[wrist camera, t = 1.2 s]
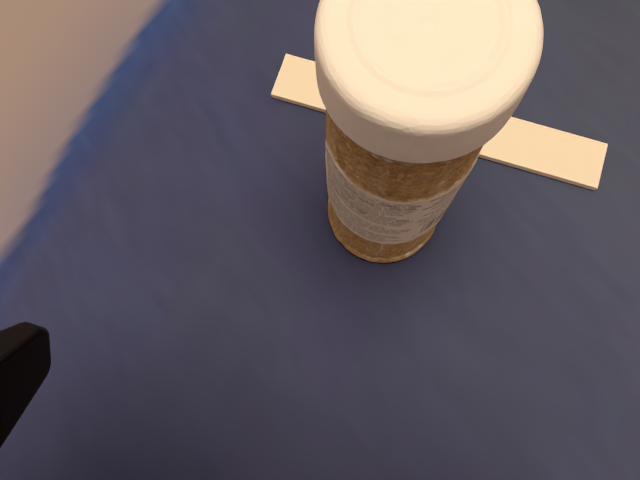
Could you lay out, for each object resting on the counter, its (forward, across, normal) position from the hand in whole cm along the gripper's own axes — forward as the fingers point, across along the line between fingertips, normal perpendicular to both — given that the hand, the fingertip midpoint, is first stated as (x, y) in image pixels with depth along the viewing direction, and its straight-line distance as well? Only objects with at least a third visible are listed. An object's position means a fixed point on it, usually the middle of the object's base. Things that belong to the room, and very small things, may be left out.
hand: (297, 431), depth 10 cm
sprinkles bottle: (+15, 0, +4) cm, 16 cm away
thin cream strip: (+18, -1, +1) cm, 18 cm away
